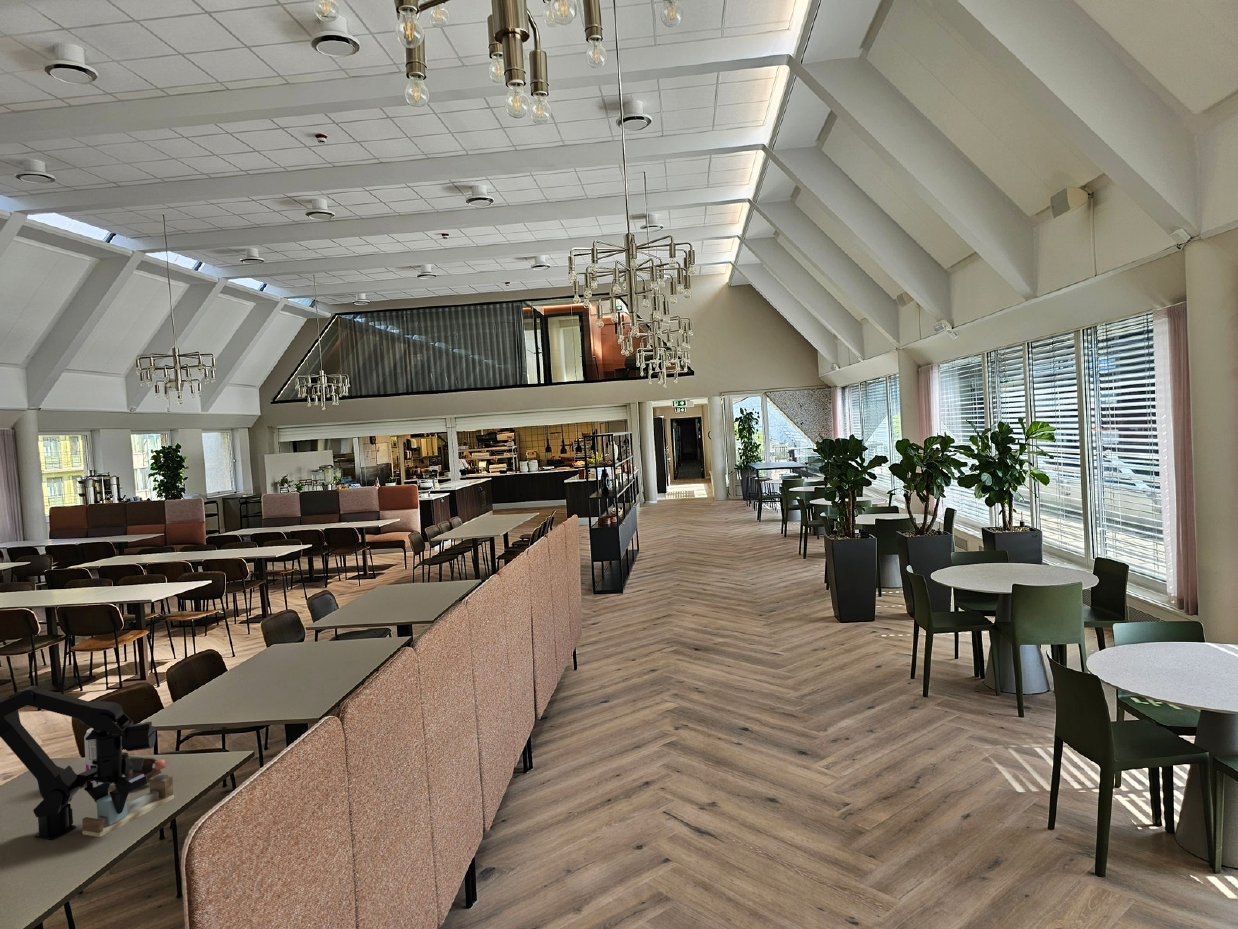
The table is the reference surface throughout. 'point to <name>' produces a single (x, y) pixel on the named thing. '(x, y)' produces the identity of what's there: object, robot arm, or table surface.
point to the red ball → (160, 764)
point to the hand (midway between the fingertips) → (112, 812)
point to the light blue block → (110, 810)
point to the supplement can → (89, 751)
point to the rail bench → (131, 816)
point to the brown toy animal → (147, 769)
